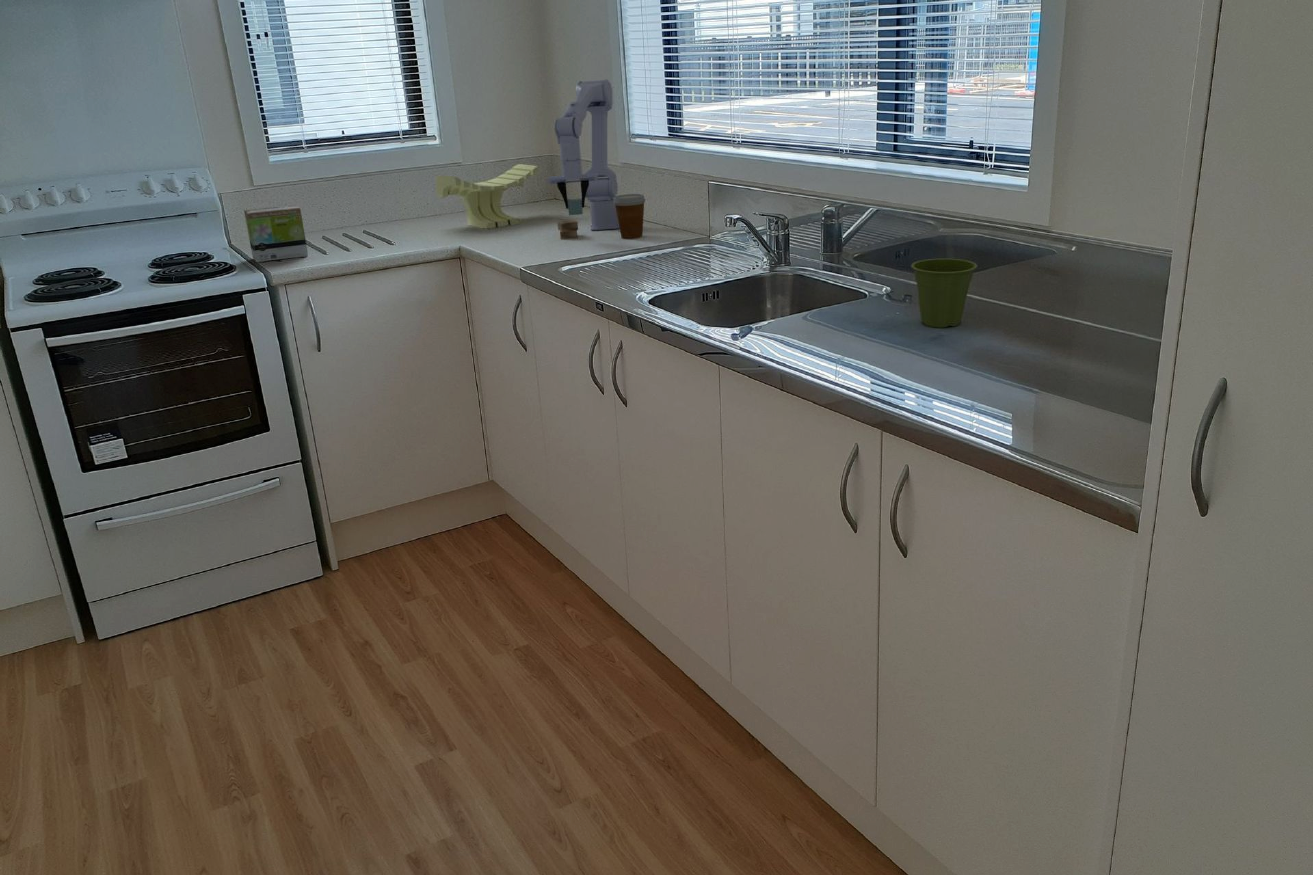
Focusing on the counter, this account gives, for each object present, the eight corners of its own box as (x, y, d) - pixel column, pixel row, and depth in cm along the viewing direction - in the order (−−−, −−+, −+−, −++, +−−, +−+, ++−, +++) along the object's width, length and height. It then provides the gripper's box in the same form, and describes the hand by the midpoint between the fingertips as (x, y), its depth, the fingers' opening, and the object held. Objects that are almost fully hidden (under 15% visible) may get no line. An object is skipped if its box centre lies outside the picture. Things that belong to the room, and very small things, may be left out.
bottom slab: (577, 236, 311) (576, 228, 310) (577, 239, 307) (576, 230, 306) (561, 237, 311) (560, 229, 310) (560, 240, 306) (559, 232, 305)
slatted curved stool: (520, 215, 357) (514, 163, 350) (542, 219, 344) (537, 166, 338) (441, 228, 341) (434, 174, 335) (462, 233, 329) (454, 176, 322)
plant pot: (911, 332, 188) (913, 272, 184) (907, 316, 199) (909, 259, 195) (977, 331, 186) (981, 270, 182) (970, 315, 197) (973, 257, 193)
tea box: (257, 263, 299) (246, 213, 294) (252, 258, 308) (242, 209, 302) (309, 256, 305) (300, 206, 300) (303, 251, 314) (294, 203, 308)
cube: (582, 212, 299) (581, 198, 298) (582, 214, 295) (581, 200, 294) (569, 213, 299) (567, 199, 298) (568, 215, 295) (567, 201, 294)
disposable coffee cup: (610, 240, 300) (607, 198, 295) (623, 234, 308) (620, 193, 303) (640, 240, 296) (637, 198, 292) (652, 234, 304) (650, 193, 300)
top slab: (574, 227, 311) (573, 219, 310) (578, 230, 306) (577, 221, 305) (558, 229, 309) (557, 221, 309) (562, 232, 305) (561, 223, 304)
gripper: (545, 163, 288) (550, 211, 293) (596, 159, 288) (600, 208, 293) (546, 160, 294) (550, 208, 299) (596, 157, 295) (599, 204, 300)
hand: (575, 207), depth 297 cm, fingers closed on cube, 4 cm apart
